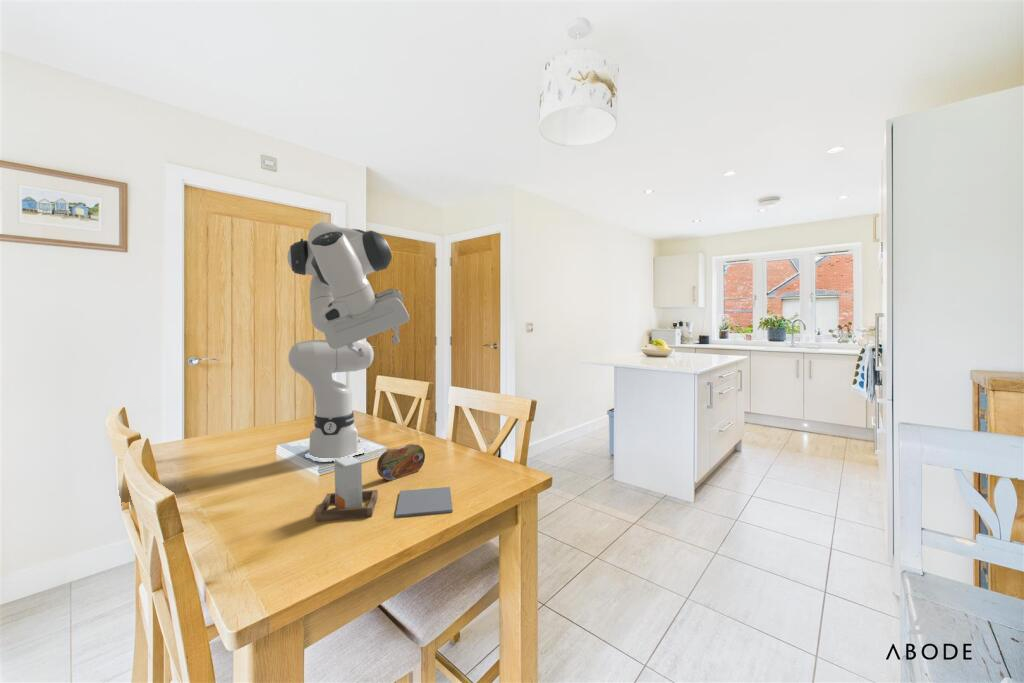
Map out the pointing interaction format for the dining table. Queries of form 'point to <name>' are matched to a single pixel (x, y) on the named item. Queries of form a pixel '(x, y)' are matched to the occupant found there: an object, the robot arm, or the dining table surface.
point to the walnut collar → (346, 513)
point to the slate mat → (424, 502)
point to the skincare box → (348, 482)
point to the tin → (400, 462)
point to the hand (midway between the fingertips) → (379, 349)
